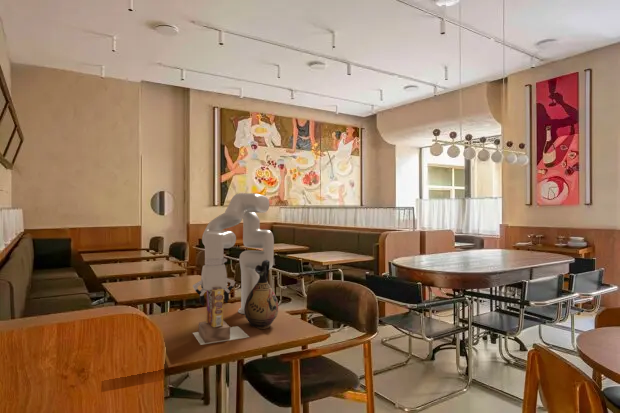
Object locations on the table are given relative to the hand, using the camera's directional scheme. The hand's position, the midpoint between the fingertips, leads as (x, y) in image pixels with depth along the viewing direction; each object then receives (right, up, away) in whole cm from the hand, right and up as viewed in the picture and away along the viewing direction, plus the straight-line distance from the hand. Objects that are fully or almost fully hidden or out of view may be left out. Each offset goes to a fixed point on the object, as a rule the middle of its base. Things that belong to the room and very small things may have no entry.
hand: (214, 303), depth 165 cm
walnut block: (0, -14, 0) cm, 14 cm away
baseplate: (+2, -15, +2) cm, 15 cm away
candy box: (0, -9, 0) cm, 9 cm away
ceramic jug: (+18, -15, +18) cm, 29 cm away
